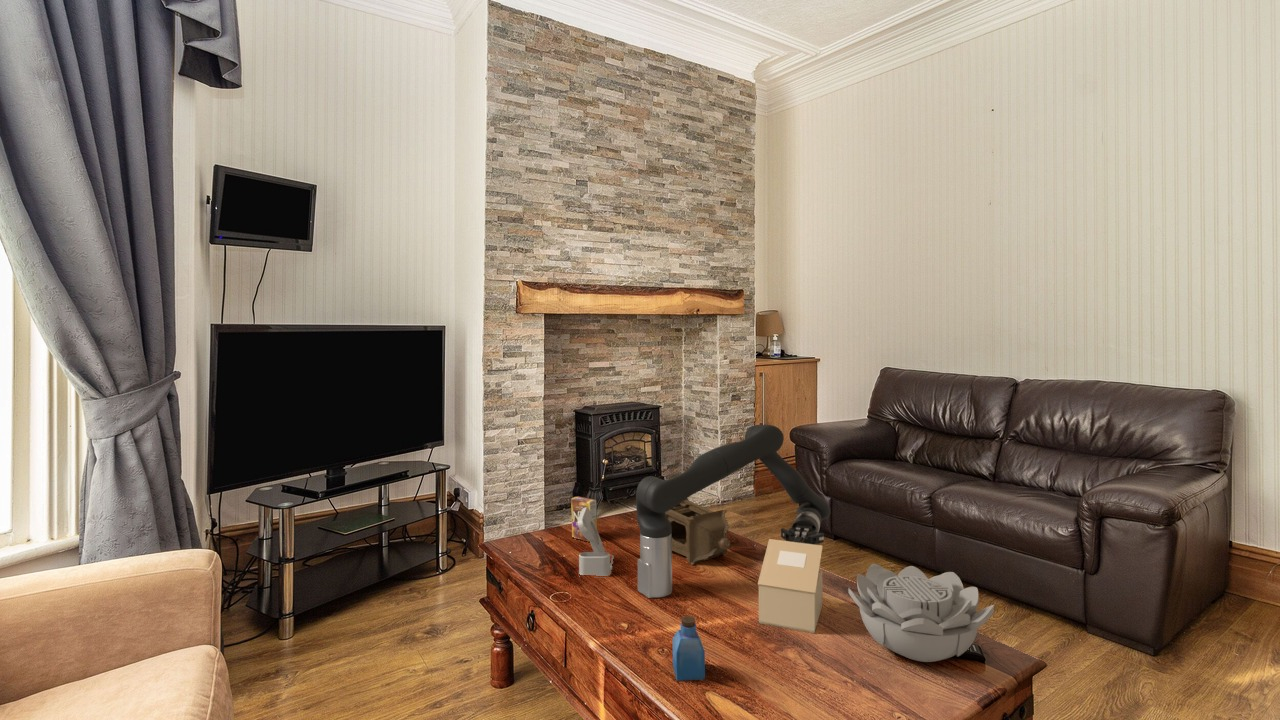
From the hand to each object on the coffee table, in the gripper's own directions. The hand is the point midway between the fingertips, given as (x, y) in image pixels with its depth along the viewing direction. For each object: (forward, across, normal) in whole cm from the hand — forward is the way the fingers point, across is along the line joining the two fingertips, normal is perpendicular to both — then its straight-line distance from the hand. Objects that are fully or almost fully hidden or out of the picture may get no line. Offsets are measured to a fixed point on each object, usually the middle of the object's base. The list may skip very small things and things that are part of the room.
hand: (797, 545), depth 170 cm
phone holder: (0, -64, +16) cm, 66 cm away
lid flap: (+11, 0, +2) cm, 11 cm away
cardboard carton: (+10, 0, +16) cm, 19 cm away
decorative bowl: (+17, +29, +16) cm, 37 cm away
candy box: (-21, -79, +16) cm, 84 cm away
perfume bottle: (+46, -17, +16) cm, 52 cm away
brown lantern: (-23, -38, +16) cm, 47 cm away
